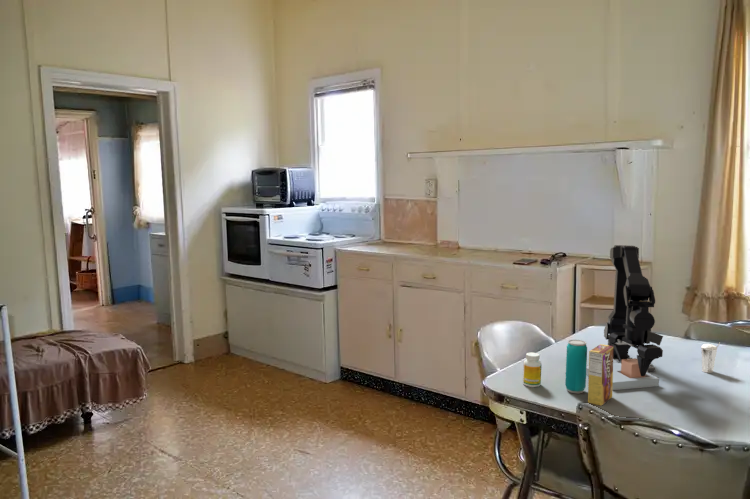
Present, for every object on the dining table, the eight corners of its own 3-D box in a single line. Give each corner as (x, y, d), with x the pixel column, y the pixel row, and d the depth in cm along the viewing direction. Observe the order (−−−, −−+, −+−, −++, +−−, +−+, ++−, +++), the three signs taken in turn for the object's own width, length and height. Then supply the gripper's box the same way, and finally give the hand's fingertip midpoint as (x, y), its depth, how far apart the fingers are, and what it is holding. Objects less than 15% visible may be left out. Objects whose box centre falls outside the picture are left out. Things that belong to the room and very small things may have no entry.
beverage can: (585, 388, 183) (587, 340, 181) (585, 395, 178) (587, 345, 176) (565, 386, 185) (567, 338, 183) (564, 393, 180) (566, 343, 178)
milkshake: (720, 374, 196) (722, 344, 195) (702, 373, 197) (704, 343, 196) (715, 369, 200) (717, 340, 199) (697, 368, 201) (699, 339, 200)
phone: (620, 363, 207) (621, 359, 207) (635, 362, 208) (635, 358, 208) (639, 372, 198) (640, 368, 197) (654, 371, 199) (654, 367, 199)
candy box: (597, 393, 179) (600, 343, 177) (612, 397, 176) (615, 346, 174) (586, 402, 172) (588, 350, 170) (601, 406, 170) (604, 353, 168)
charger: (620, 377, 192) (621, 359, 191) (635, 376, 193) (636, 358, 192) (630, 383, 187) (631, 364, 186) (645, 381, 188) (646, 363, 187)
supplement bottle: (520, 381, 190) (521, 351, 188) (538, 381, 190) (539, 351, 188) (525, 387, 184) (526, 356, 183) (542, 387, 184) (544, 356, 183)
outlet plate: (582, 372, 197) (582, 365, 197) (626, 369, 201) (626, 362, 201) (611, 390, 182) (612, 382, 182) (658, 385, 185) (659, 378, 185)
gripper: (680, 328, 180) (676, 379, 182) (639, 314, 198) (637, 360, 200) (647, 330, 178) (644, 382, 180) (609, 315, 196) (606, 362, 198)
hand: (633, 371), depth 189 cm, fingers open, 9 cm apart
